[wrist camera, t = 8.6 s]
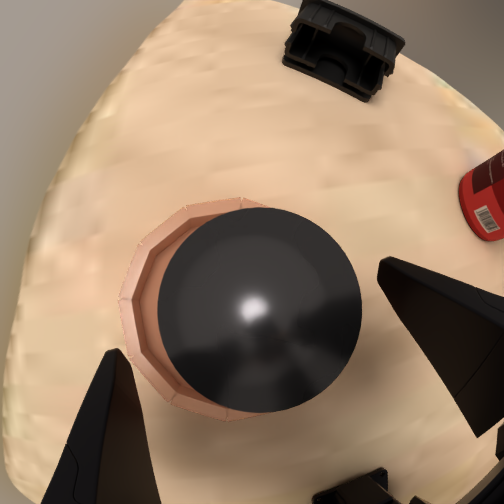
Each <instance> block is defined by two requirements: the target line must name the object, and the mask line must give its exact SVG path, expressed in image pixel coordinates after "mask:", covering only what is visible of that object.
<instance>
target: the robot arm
mask: <svg viewBox="0 0 504 504" xmlns="http://www.w3.org/2000/svg"><path fill="white" fill-rule="evenodd" d="M377 281H378V284H379V286H380V287H381V289H382V290H383V292H384V294H385V295H386V297H387V299H388V300H389V302H390V304H391V305H392V307H393V309H394V311H395V312H396V314H397V315H398V317H399V318H400V320H401V321H402V323H403V324H404V325H405V327H406V328H407V330H408V331H409V332H410V334H411V335H412V337H413V338H414V339H415V341H416V342H417V344H418V345H419V347H420V348H421V349H422V351H423V352H424V354H425V355H426V357H427V358H428V360H429V361H430V363H431V364H432V366H433V367H434V369H435V370H436V372H437V373H438V375H439V376H440V378H441V379H442V381H443V383H444V384H445V386H446V387H447V389H448V390H449V392H450V394H451V395H452V397H453V398H454V400H455V402H456V404H457V405H458V407H459V409H460V410H461V412H462V414H463V415H464V417H465V419H466V420H467V422H468V424H469V426H470V427H471V429H472V431H473V433H474V434H475V436H476V437H477V438H478V437H480V436H481V435H482V434H484V433H485V432H486V431H488V430H489V429H490V428H491V427H493V426H494V425H495V424H496V423H498V422H499V421H500V420H501V419H502V418H504V297H502V296H499V295H496V294H493V293H490V292H487V291H485V290H482V289H480V288H477V287H474V286H472V285H469V284H466V283H464V282H461V281H458V280H456V279H453V278H450V277H448V276H445V275H442V274H440V273H437V272H434V271H431V270H429V269H426V268H423V267H420V266H417V265H415V264H412V263H409V262H406V261H403V260H400V259H397V258H394V257H391V256H389V257H386V258H384V259H382V260H381V261H380V263H379V268H378V274H377ZM495 455H496V457H497V458H498V459H499V462H498V464H497V465H496V466H495V467H494V468H493V469H492V470H491V471H490V472H489V473H488V474H487V475H486V476H485V477H484V478H483V479H482V480H481V481H480V482H479V483H478V484H477V485H476V486H475V487H474V488H473V489H472V490H471V491H470V492H469V493H467V494H466V495H465V496H464V497H463V498H462V499H461V500H460V501H458V502H457V503H456V504H504V422H503V424H502V425H501V426H500V427H499V428H498V434H497V445H496V454H495ZM381 473H382V474H381ZM380 474H381V475H380ZM320 498H321V499H320ZM318 499H320V500H318ZM41 504H161V500H160V496H159V493H158V489H157V485H156V480H155V476H154V472H153V467H152V462H151V458H150V453H149V448H148V442H147V437H146V431H145V425H144V419H143V413H142V408H141V404H140V400H139V396H138V392H137V388H136V384H135V380H134V375H133V371H132V367H131V365H130V363H129V361H128V360H127V359H126V357H125V356H124V355H123V353H122V352H121V350H120V349H118V348H115V349H111V350H108V351H106V352H105V354H104V356H103V358H102V360H101V363H100V365H99V367H98V369H97V371H96V373H95V375H94V378H93V380H92V382H91V384H90V386H89V389H88V391H87V393H86V395H85V398H84V400H83V402H82V405H81V407H80V409H79V412H78V414H77V417H76V419H75V422H74V424H73V426H72V429H71V432H70V434H69V437H68V439H67V444H65V447H64V450H63V452H62V455H61V457H60V460H59V463H58V465H57V468H56V470H55V472H54V475H53V477H52V479H51V481H50V484H49V486H48V488H47V490H46V492H45V495H44V497H43V499H42V502H41ZM312 504H401V503H400V502H399V501H397V500H396V499H395V498H394V497H393V496H392V495H391V494H390V493H388V472H387V470H386V469H384V468H380V469H378V470H376V471H374V472H371V473H369V474H367V475H365V476H363V477H360V478H358V479H356V480H353V481H351V482H349V483H346V484H344V485H341V486H339V487H336V488H333V489H331V490H328V491H325V492H322V493H319V494H317V495H315V496H313V498H312ZM409 504H431V503H429V502H427V501H425V500H423V499H421V498H419V497H417V496H414V497H413V498H412V500H411V501H410V503H409Z"/></svg>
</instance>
